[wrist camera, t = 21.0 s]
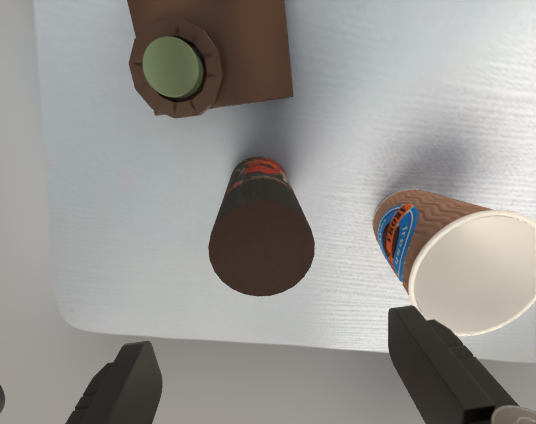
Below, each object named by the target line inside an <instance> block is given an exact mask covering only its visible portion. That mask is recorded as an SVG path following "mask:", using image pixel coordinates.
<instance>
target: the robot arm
mask: <svg viewBox="0 0 536 424" xmlns="http://www.w3.org/2000/svg"><path fill="white" fill-rule="evenodd" d="M388 347H389V353H390V356H391V359H392V362H393V365H394V367H395V368H396V370H397V372H398V374H399V376H400V378H401V379H402V381H403V383H404V385H405V387H406V388H407V390H408V392H409V394H410V396H411V398H412V399H413V401H414V403H415V405H416V407H417V409H418V410H419V412H420V414H421V416H422V418H423V420H424V421H425V423H426V424H536V412H535V411H532V410H530V409H527V408H524V407H520V406H519V405H518V404H517V403H516V402H515V401H514V400H513V399H512V398H511V396H510V395H509V394H508V393H507V392H506V391H505V390H504V389H503V387H502V386H501V385H500V384H499V383H498V382H497V381H496V380H495V379H494V378H493V376H492V375H491V374H490V373H489V372H488V371H487V370H486V368H484V366H483V365H482V364H481V363H480V362H479V361H478V360H477V358H476V357H473V354H472V353H471V352H470V351H469V349H468V348H467V347H466V346H464V345H463V343H462V342H461V341H460V339H459V338H458V337H457V336H456V335H455V334H454V333H453V332H452V330H451V329H449V328H447V327H446V326H444V325H443V324H441V323H439V322H438V321H436V320H435V319H433V320H426V319H425V318H424V317H423V315H422V314H421V313H420V312H419V310H418V309H417V308H416V307H415V306H413V305H411V306H404V307H397V308H390V309H389V312H388ZM161 393H162V375H161V372H160V369H159V366H158V363H157V360H156V357H155V353H154V350H153V347H152V344H151V343H150V342H149V341H143V342H136V343H128V344H125V345H123V347H122V348H121V350H120V351H119V353H118V355H117V357H116V359H115V360H114V362H113V363H107V364H106V365H105V366H104V367H103V368H102V369H101V370H100V371H99V372H98V373H97V374H96V375H95V376H94V377H93V379H92V380H91V382H90V384H89V385H88V387H87V389H86V390H85V392H84V394H83V397H81V399H80V400H79V402H78V404H77V405H76V407H75V411H73V412H72V414H71V416H70V417H69V419H68V420H67V422H66V424H152V422H153V419H154V416H155V413H156V410H157V407H158V404H159V401H160V397H161Z"/></svg>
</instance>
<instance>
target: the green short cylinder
mask: <svg viewBox="0 0 536 424" xmlns="http://www.w3.org/2000/svg"><path fill="white" fill-rule="evenodd" d="M143 71H144V75H145V77H146V79H147V81H148V83H149V84H150V85H151V87H152V88H153V89H154V90H156V91H157V92H158V93H160V94H162V95H164V96H167V97H173V98H185V97H188V96H190V95H192V94H194V93H195V92H196V91H197V90H198V88H199V87H200V85H201V83H202V79H203V66H202V63H201V60H200V58H199V56H198V55H197V53H196V52H195V51H194V50H193V49H192V48H191V47H190V46H189V45H188V44H187V43H185V42H184V41H183V40H181V39H179V38H176V37H172V36H164V37H160V38H157V39H155V40H154V41H153V42H151V43H150V44H149V46H148V47H147V48H146V50H145V53H144V56H143Z"/></svg>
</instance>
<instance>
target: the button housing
mask: <svg viewBox="0 0 536 424" xmlns="http://www.w3.org/2000/svg"><path fill="white" fill-rule="evenodd" d="M127 2H128V6H129V10H130V14H131V18H132V22H133V26H134V30H135V35H136V38H135V40H134V44H133V48H132V52H131V56H130V60H129V66H130V70H131V74H132V78H133V82H134V86H135V89H136V91H137V92H138V93H139V94H140V95H141V96H142V98H143V99H144V100H145V101H146V102H147V103H148V105H149V106H150V107H151V108H152V109H153V110H154V113H155V115H168V116H170V117H173V118H182V117H189V116H197V115H201V114H203V113H204V112H205V111H206V110H207V109H211V108H218V107H225V106H233V105H240V104H247V103H254V102H262V101H269V100H276V99H283V98H290V97H293V87H292V76H291V66H290V55H289V45H288V34H287V24H286V13H285V3H284V0H127ZM164 36H172V37H176V38H179V39H181V40H183V41H184V42H185V43H187V44H188V45H189V46H190V47H191V48H192V49H193V50H194V51H195V52H196V53H197V55H198V56H199V58H200V60H201V63H202V66H203V79H202V83H201V85H200V87H199V88H198V90H197V91H196V92H195V93H194V94H192V95H190V96H188V97H185V98H173V97H167V96H164V95H162V94H160V93H158V92H157V91H156V90H154V89H153V88H152V87H151V85H150V84H149V83H148V81H147V79H146V77H145V75H144V71H143V56H144V53H145V50H146V48H147V47H148V46H149V44H150V43H151V42H153V41H154V40H155V39H157V38H160V37H164Z"/></svg>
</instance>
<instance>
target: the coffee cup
mask: <svg viewBox="0 0 536 424" xmlns="http://www.w3.org/2000/svg"><path fill="white" fill-rule="evenodd" d="M515 218H516V219H515ZM520 220H521V221H520ZM529 225H530V226H529ZM373 231H374V234H375V236H376V240H377V241H378V244H379V245H380V248H381V250H382V253H383V255H384V256H385V258H386V260H387V261H388V263H389V264H390V266H391V268H392V269H393V271H394V272H395V274H396V275H397V277H398V278H399V280H400V281H401V282H403V286H404V288H405V289H406V291H407V293H408V295H409V298H410V302H411V305H413V306H415V307H416V308H417V309H418V310H419V312H420V313H421V314H422V313H423V314H422V315H423V317H424V318H425V319H426V320H433V319H435V320H436V321H438V322H439V323H441V324H443V325H444V326H446V327H447V328H449V329H451V330H452V332H453V333H454V334H455V335H456V336H472V335H478V334H483V333H487V332H490V331H493V330H496V329H498V328H500V327H502V326H504V325H506V324H508V323H510V322H511V321H513V320H515V319H516V318H517V317H519V316H520V315H521V314H523V313H524V312H525V311H526V310H527V309H528V308H529V307H530V306H531V305H532V304H533V303H534V302H535V301H536V222H535V221H534V220H532V219H531V218H529V217H527V216H525V215H523V214H520V213H517V212H513V211H508V210H492V209H489V208H485V207H481V206H477V205H474V204H470V203H466V202H463V201H459V200H455V199H451V198H448V197H444V196H440V195H436V194H432V193H429V192H425V191H421V190H402V191H398V192H396V193H393V194H391V195H390V196H388V197H387V198H386V199H385V200H383V201H382V202H381V204H380V205H379V206H378V208H377V210H376V212H375V214H374V217H373Z"/></svg>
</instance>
